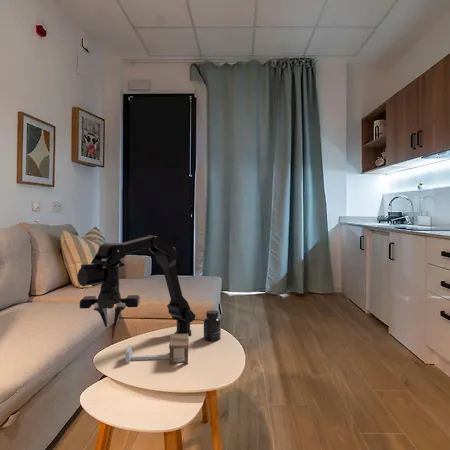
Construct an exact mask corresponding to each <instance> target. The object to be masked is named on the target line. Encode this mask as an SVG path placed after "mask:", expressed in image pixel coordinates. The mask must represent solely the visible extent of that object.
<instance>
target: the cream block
mask: <svg viewBox="0 0 450 450" xmlns="http://www.w3.org/2000/svg"><path fill="white" fill-rule="evenodd" d="M174 358H184V348H177V349H174Z"/></svg>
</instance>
